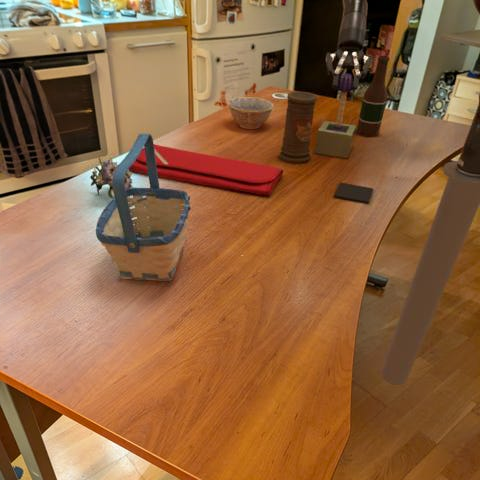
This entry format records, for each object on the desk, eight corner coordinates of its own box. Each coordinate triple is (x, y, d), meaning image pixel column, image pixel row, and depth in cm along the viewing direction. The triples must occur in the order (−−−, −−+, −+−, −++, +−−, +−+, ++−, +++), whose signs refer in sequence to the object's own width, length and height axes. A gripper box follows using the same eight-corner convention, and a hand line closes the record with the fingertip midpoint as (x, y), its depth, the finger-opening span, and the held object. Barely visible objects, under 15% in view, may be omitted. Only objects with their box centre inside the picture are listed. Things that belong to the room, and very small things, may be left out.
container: (274, 157, 141) (279, 94, 130) (291, 150, 147) (299, 89, 135) (297, 165, 137) (305, 101, 125) (314, 158, 142) (324, 95, 131)
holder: (352, 147, 151) (356, 125, 146) (347, 158, 143) (351, 135, 139) (321, 142, 153) (324, 120, 149) (314, 152, 146) (317, 130, 141)
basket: (124, 235, 102) (110, 126, 87) (197, 242, 101) (195, 133, 86) (91, 291, 86) (66, 169, 71) (177, 300, 85) (170, 178, 70)
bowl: (281, 127, 163) (283, 105, 158) (249, 137, 154) (250, 113, 149) (249, 116, 171) (251, 94, 167) (217, 124, 163) (218, 101, 158)
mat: (372, 190, 126) (373, 188, 126) (368, 203, 120) (368, 201, 119) (340, 184, 128) (340, 182, 128) (334, 197, 122) (334, 195, 121)
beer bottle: (366, 128, 167) (383, 53, 151) (383, 134, 162) (401, 58, 146) (351, 131, 163) (366, 54, 148) (367, 138, 158) (385, 60, 143)
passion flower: (127, 219, 119) (121, 196, 107) (86, 207, 118) (75, 183, 107) (141, 181, 122) (135, 155, 110) (101, 170, 121) (91, 142, 110)
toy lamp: (345, 135, 143) (356, 76, 132) (330, 134, 143) (339, 75, 132) (343, 130, 147) (354, 72, 136) (329, 129, 147) (338, 71, 136)
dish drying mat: (268, 198, 120) (269, 184, 117) (126, 172, 128) (125, 159, 126) (283, 175, 131) (284, 162, 129) (152, 153, 140) (151, 140, 137)
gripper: (329, 24, 133) (321, 79, 132) (379, 27, 132) (372, 84, 130) (326, 41, 141) (319, 94, 139) (374, 45, 139) (367, 98, 138)
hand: (344, 89), depth 135 cm, fingers closed on toy lamp, 4 cm apart
